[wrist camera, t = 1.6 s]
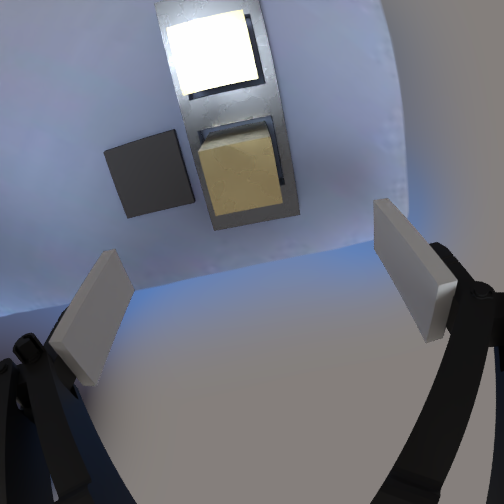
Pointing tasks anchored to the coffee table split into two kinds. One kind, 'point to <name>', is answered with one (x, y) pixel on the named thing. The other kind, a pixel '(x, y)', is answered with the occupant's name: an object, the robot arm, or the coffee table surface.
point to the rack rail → (232, 105)
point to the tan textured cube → (240, 168)
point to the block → (212, 52)
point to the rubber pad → (150, 174)
